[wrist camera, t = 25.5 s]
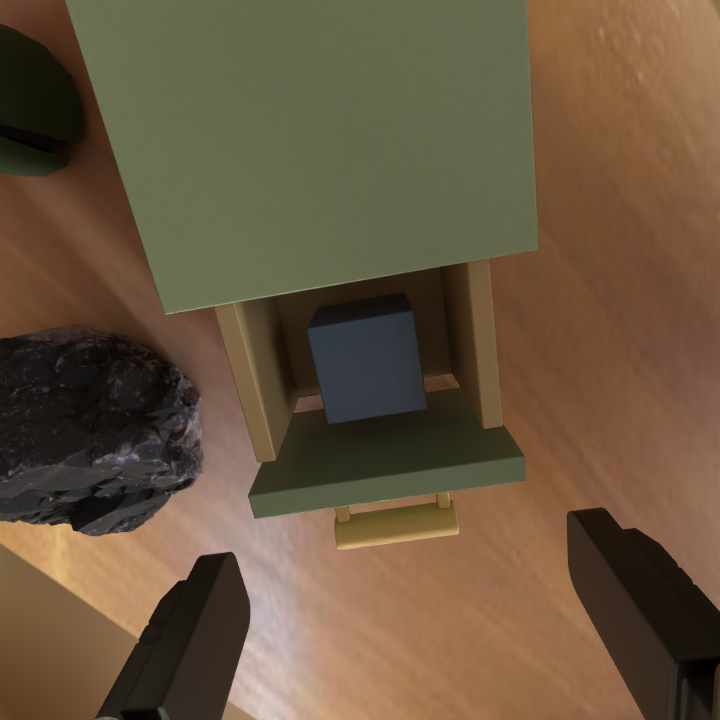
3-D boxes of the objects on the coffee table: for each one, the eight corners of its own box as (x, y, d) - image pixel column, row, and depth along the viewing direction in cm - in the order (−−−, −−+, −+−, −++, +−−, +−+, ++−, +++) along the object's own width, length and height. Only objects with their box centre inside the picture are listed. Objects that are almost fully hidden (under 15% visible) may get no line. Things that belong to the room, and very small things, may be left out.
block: (404, 292, 22) (413, 309, 18) (416, 374, 23) (427, 409, 19) (317, 307, 22) (305, 328, 18) (334, 387, 24) (327, 425, 19)
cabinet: (470, 236, 23) (539, 249, 14) (241, 278, 24) (163, 314, 15) (438, -112, 19) (507, -425, 10) (157, -47, 20) (-26, -279, 10)
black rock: (242, 488, 29) (196, 601, 19) (43, 536, 29) (-104, 674, 19) (178, 289, 26) (83, 305, 16) (-45, 343, 26) (-272, 391, 16)
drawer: (485, 469, 26) (532, 567, 19) (302, 495, 27) (278, 599, 20) (454, 149, 21) (502, 112, 14) (225, 193, 22) (153, 180, 14)
